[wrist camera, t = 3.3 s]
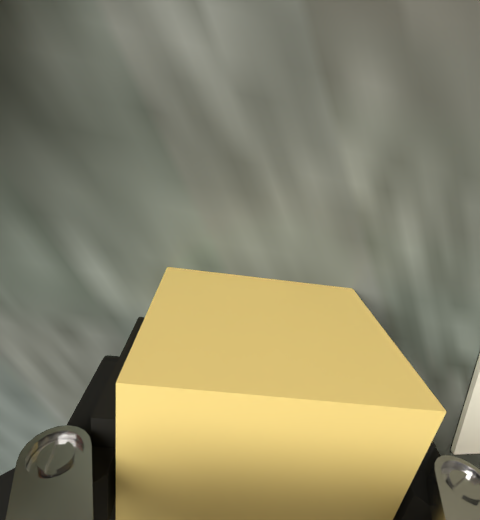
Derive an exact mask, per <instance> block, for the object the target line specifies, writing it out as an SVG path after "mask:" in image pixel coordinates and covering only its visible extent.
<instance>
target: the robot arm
mask: <svg viewBox="0 0 480 520" xmlns="http://www.w3.org/2000/svg"><path fill="white" fill-rule="evenodd" d="M143 321H144V318H143V317H139V318H138V320H137V322H136V324H135V326H134V328H133V330H132V332H131V334H130V336H129V338H128V341H127V343H126V345H125V347H124V349H123V351H122V353H121V355H120V357H117V356H105V357H104V358H103V360H102V362H101V363H100V365H99V367H98V369H97V371H96V373H95V374H94V376H93V378H92V380H91V382H90V384H89V385H88V387H87V389H86V391H85V393H84V394H83V396H82V398H81V400H80V402H79V404H78V405H77V407H76V409H75V411H74V413H73V415H72V416H71V418H70V420H69V422H68V424H67V425H66V426H57V427H54V428H51V429H48V430H46V431H44V432H42V433H40V434H38V435H36V436H35V437H34V438H33V439H32V440H31V441H29V442H28V443H27V444H26V446H25V447H24V448H23V449H22V451H21V452H20V454H19V457H18V460H17V462H16V467H15V468H14V469H12V470H10V471H8V472H6V473H5V474H3V475H1V476H0V520H116V381H117V379H118V377H119V374H120V372H121V370H122V368H123V366H124V363H125V361H126V359H127V357H128V354H129V352H130V350H131V348H132V345H133V343H134V341H135V339H136V336H137V334H138V332H139V330H140V327H141V325H142V323H143ZM435 446H436V445H435V444H434V442H433V441H432V442H431V444H430V446H429V448H428V450H427V452H426V454H425V456H424V458H423V460H422V462H421V464H420V466H419V468H418V470H417V472H416V474H415V476H414V478H413V480H412V482H411V484H410V486H409V488H408V490H407V492H406V494H405V496H404V498H403V500H402V502H401V504H400V506H399V508H398V510H397V512H396V514H395V516H394V518H393V520H480V469H478V468H477V467H475V466H474V465H472V464H471V463H469V462H467V461H465V460H463V459H461V458H459V457H455V456H451V455H442V456H441V455H440V454H439V452H438V451H437V449H436V448H435Z"/></svg>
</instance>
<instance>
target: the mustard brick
mask: <svg viewBox="0 0 480 520" xmlns="http://www.w3.org/2000/svg"><path fill="white" fill-rule="evenodd" d="M445 414H446V410H445V409H444V408H443V406H442V405H441V404H440V402H439V401H438V400H437V398H436V397H435V396H434V395H433V393H432V392H431V391H430V389H429V388H428V387H427V385H426V384H425V383H424V381H423V380H422V379H421V378H420V376H419V375H418V374H417V372H416V371H415V370H414V368H413V367H412V366H411V364H410V363H409V362H408V361H407V359H406V358H405V357H404V355H403V354H402V353H401V351H400V350H399V349H398V347H397V346H396V345H395V343H394V342H393V341H392V340H391V338H390V337H389V336H388V334H387V333H386V332H385V330H384V329H383V328H382V326H381V325H380V324H379V323H378V321H377V320H376V319H375V317H374V316H373V315H372V313H371V312H370V311H369V309H368V308H367V307H366V306H365V304H364V303H363V302H362V300H361V299H360V298H359V296H358V295H357V294H356V292H355V291H354V290H353V289H351V288H343V287H334V286H325V285H317V284H308V283H300V282H291V281H283V280H274V279H266V278H257V277H249V276H240V275H231V274H223V273H214V272H206V271H197V270H189V269H180V268H172V267H167V269H166V271H165V274H164V276H163V278H162V280H161V282H160V285H159V287H158V289H157V291H156V294H155V296H154V298H153V300H152V303H151V305H150V307H149V309H148V312H147V314H146V316H145V318H144V321H143V323H142V325H141V327H140V330H139V332H138V334H137V336H136V339H135V341H134V343H133V345H132V348H131V350H130V352H129V354H128V357H127V359H126V361H125V363H124V366H123V368H122V370H121V372H120V374H119V377H118V379H117V381H116V520H393V518H394V516H395V514H396V512H397V510H398V508H399V506H400V504H401V502H402V500H403V498H404V496H405V494H406V492H407V490H408V488H409V486H410V484H411V482H412V480H413V478H414V476H415V474H416V472H417V470H418V468H419V466H420V464H421V462H422V460H423V458H424V456H425V454H426V452H427V450H428V448H429V446H430V444H431V442H432V440H433V438H434V436H435V434H436V432H437V430H438V428H439V426H440V424H441V422H442V420H443V418H444V416H445Z"/></svg>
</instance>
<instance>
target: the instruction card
mask: <svg viewBox="0 0 480 520" xmlns="http://www.w3.org/2000/svg"><path fill="white" fill-rule="evenodd" d="M451 451H452V453H453V454H454V455H455V454H476V453H480V354H479V358H478V361H477V364H476V368H475V371H474V374H473V378H472V381H471V384H470V387H469V391H468V394H467V397H466V401H465V404H464V407H463V411H462V414H461V417H460V421H459V424H458V427H457V431H456V434H455V437H454V440H453V444H452V447H451Z"/></svg>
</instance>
